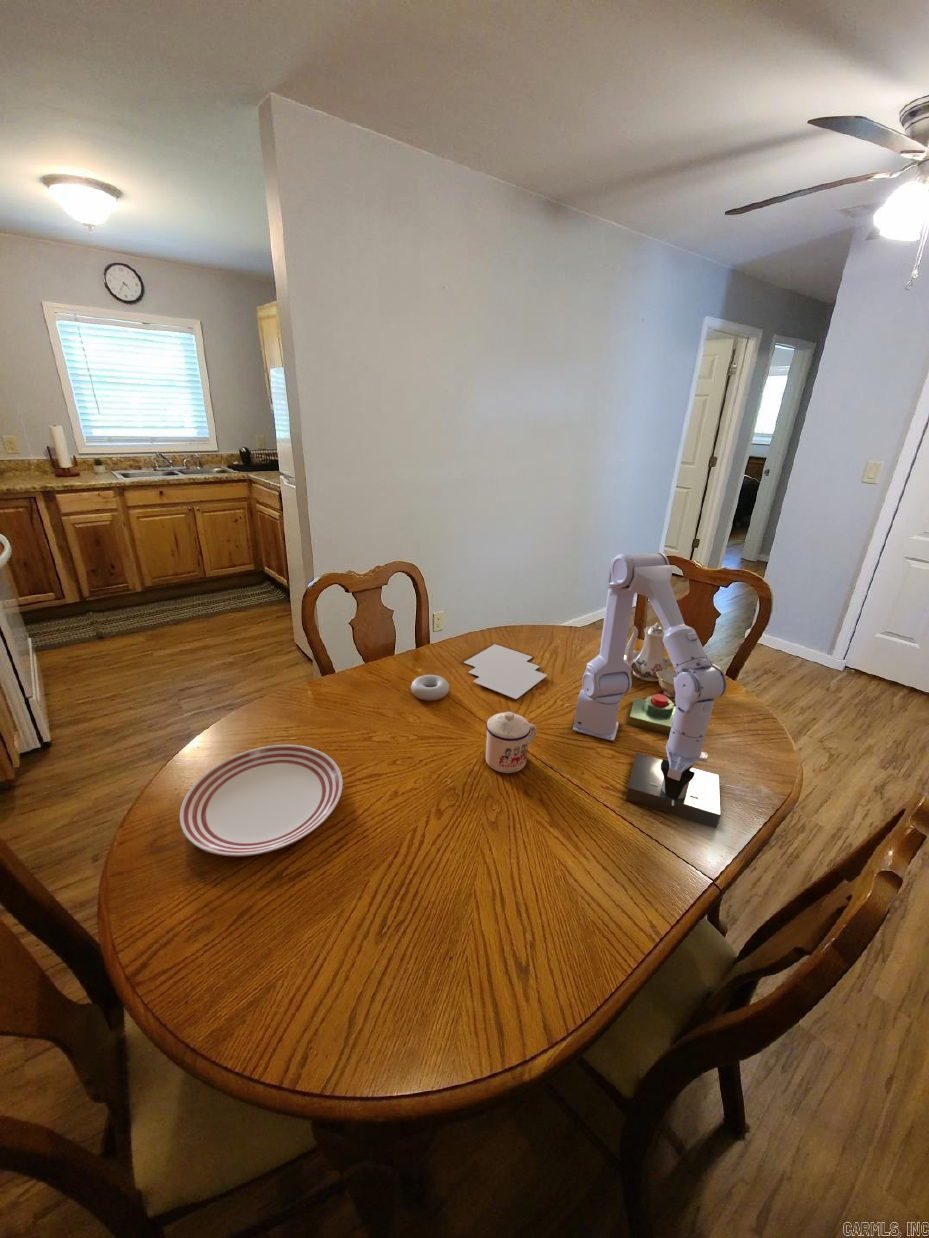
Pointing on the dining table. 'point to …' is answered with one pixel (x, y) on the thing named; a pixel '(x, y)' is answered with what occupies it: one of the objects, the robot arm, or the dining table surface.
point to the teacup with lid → (508, 741)
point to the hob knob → (681, 792)
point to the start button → (660, 700)
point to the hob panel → (694, 806)
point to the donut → (430, 687)
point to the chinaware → (651, 659)
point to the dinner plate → (261, 800)
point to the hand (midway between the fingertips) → (674, 788)
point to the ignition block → (652, 715)
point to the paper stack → (505, 671)
